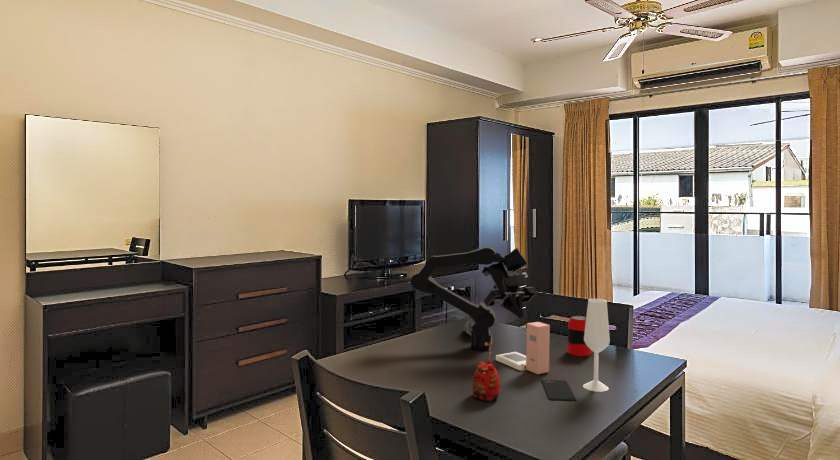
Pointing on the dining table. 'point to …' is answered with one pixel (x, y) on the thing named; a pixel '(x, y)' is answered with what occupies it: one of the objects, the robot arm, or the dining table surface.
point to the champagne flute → (596, 337)
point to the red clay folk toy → (486, 380)
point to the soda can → (577, 337)
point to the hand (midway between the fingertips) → (522, 317)
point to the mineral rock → (469, 325)
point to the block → (537, 347)
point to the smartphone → (558, 390)
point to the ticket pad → (513, 360)
